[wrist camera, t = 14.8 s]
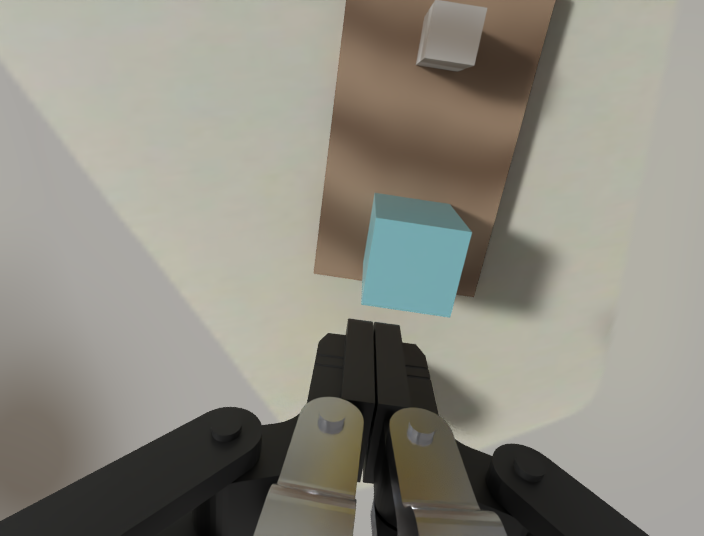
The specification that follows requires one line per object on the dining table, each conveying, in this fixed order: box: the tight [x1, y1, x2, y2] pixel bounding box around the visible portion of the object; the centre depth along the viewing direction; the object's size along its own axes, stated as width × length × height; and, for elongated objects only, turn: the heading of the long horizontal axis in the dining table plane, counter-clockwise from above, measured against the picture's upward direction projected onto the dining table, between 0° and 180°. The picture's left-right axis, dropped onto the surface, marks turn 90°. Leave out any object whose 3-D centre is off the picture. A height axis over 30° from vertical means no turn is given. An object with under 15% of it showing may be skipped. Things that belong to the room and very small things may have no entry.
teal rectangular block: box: [361, 193, 472, 317], centre depth 27 cm, size 5×5×7 cm
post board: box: [314, 0, 556, 297], centre depth 26 cm, size 20×12×6 cm, turn 172°
